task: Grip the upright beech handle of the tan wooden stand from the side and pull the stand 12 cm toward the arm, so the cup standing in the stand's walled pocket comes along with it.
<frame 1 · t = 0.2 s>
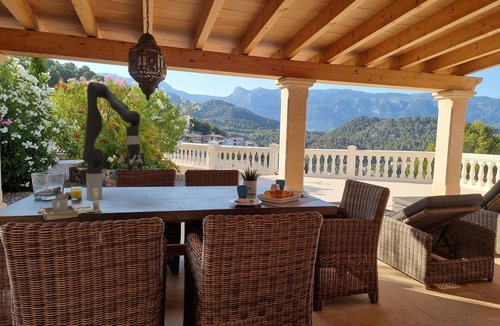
hand: (135, 170, 201), 22 cm above the table, tool pointing down, fingers open, 8 cm apart
broken strip: (64, 209, 189), on the table
tan wooden stand: (72, 202, 180), point 7 cm above the table, slide at 0.0 cm
cup: (59, 216, 177), resting in tan wooden stand
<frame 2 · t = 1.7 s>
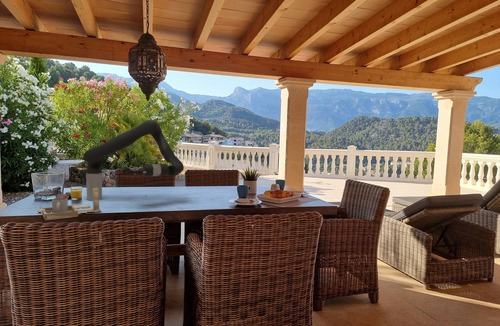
hand: (124, 171, 194), 22 cm above the table, tool horizontal, fingers open, 8 cm apart
nothing on the table moved.
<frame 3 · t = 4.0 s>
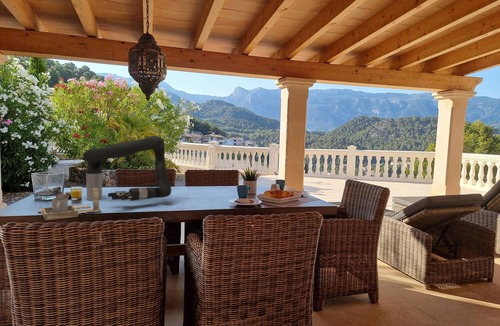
hand: (110, 196, 191), 8 cm above the table, tool horizontal, fingers open, 8 cm apart
nothing on the table moved.
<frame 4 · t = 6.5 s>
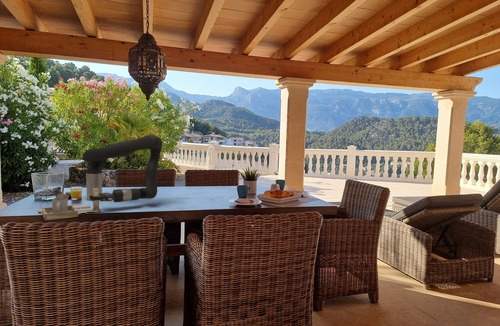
hand: (90, 198, 185), 8 cm above the table, tool horizontal, fingers closed on tan wooden stand, 3 cm apart
tan wooden stand: (72, 202, 180), point 7 cm above the table, slide at 0.0 cm, touching gripper
everything else where it was.
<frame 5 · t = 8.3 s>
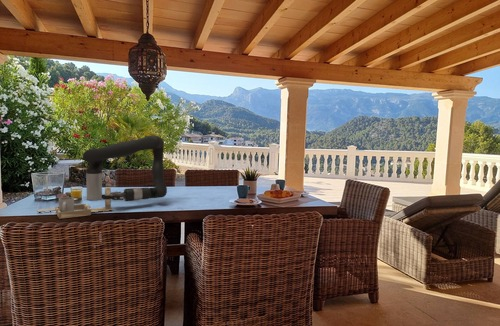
hand: (102, 197, 188), 8 cm above the table, tool horizontal, fingers closed on tan wooden stand, 3 cm apart
tan wooden stand: (85, 200, 183), point 7 cm above the table, slide at 6.3 cm, touching cup, gripper
cup: (66, 215, 178), resting in tan wooden stand
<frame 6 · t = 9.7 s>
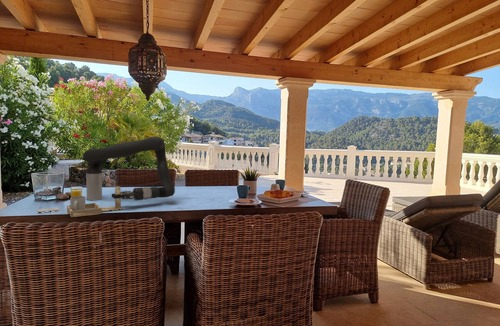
hand: (112, 196, 192), 8 cm above the table, tool horizontal, fingers closed on tan wooden stand, 3 cm apart
tan wooden stand: (96, 199, 187), point 7 cm above the table, slide at 11.8 cm, touching cup, gripper
cup: (77, 214, 181), resting in tan wooden stand
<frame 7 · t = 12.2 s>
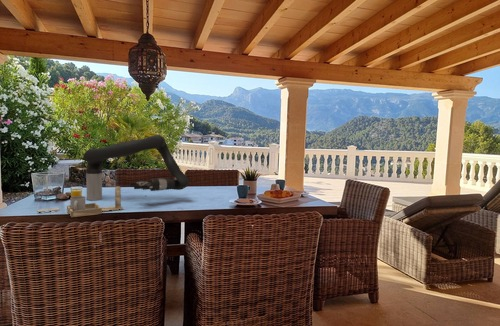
hand: (131, 186, 199), 13 cm above the table, tool horizontal, fingers open, 8 cm apart
tan wooden stand: (96, 199, 187), point 7 cm above the table, slide at 11.9 cm
cup: (77, 214, 181), resting in tan wooden stand
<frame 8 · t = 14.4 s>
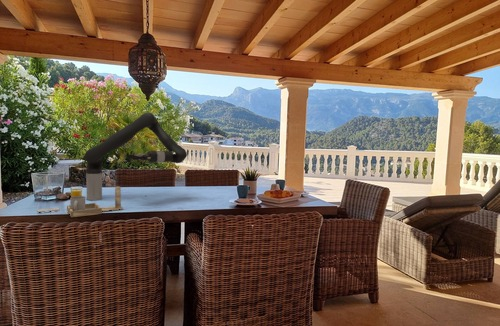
hand: (129, 157, 199), 30 cm above the table, tool horizontal, fingers open, 8 cm apart
nothing on the table moved.
at the end: tan wooden stand slide at 11.9 cm; cup inside the target area (2.6 cm from its centre), resting in tan wooden stand; cup tilted 0° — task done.
